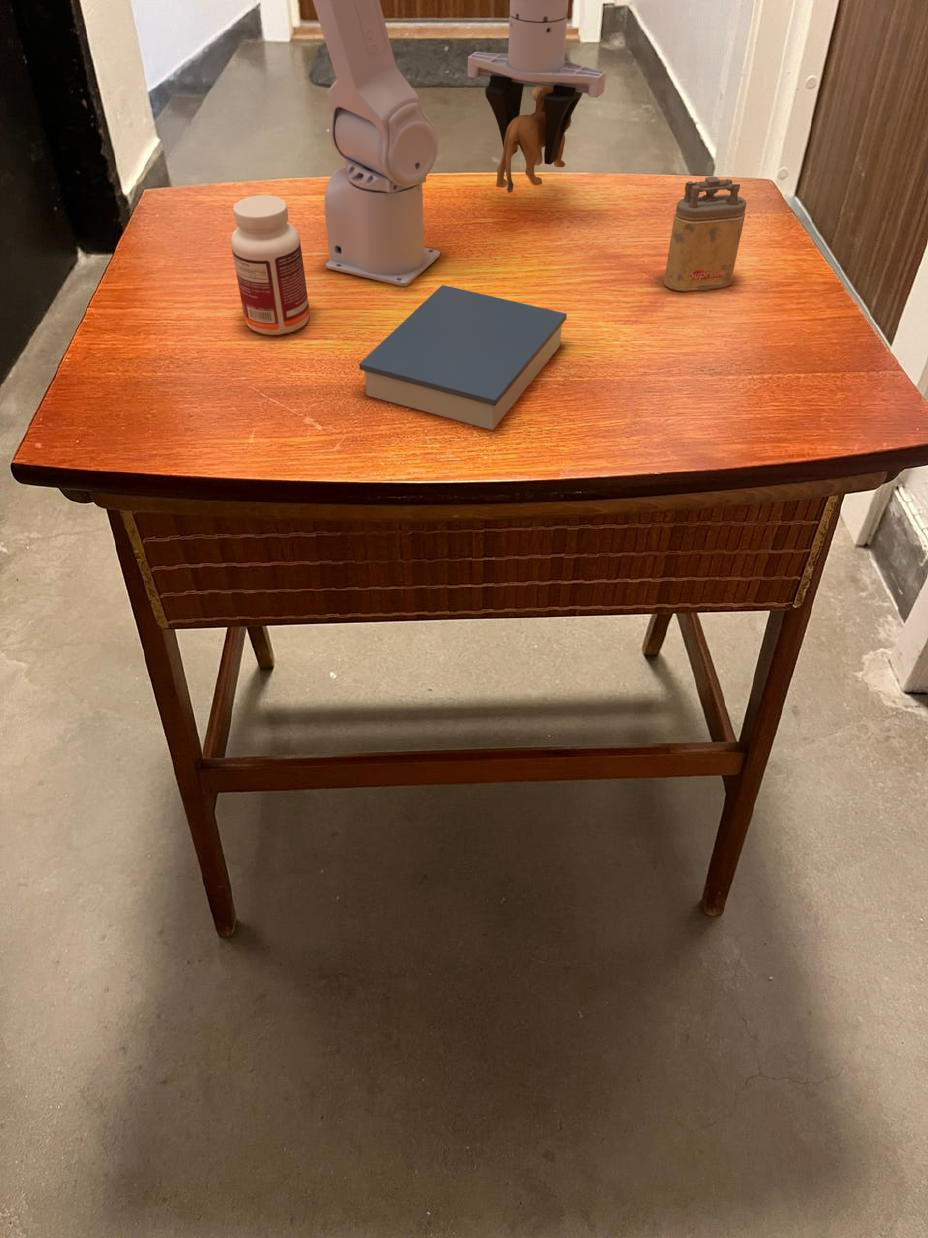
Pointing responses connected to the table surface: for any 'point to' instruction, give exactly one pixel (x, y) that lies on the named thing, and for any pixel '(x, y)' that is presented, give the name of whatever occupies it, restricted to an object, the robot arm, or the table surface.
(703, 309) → the table surface
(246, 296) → the pill bottle
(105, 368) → the table surface
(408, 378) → the blue book
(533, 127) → the lion figurine
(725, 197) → the lighter
